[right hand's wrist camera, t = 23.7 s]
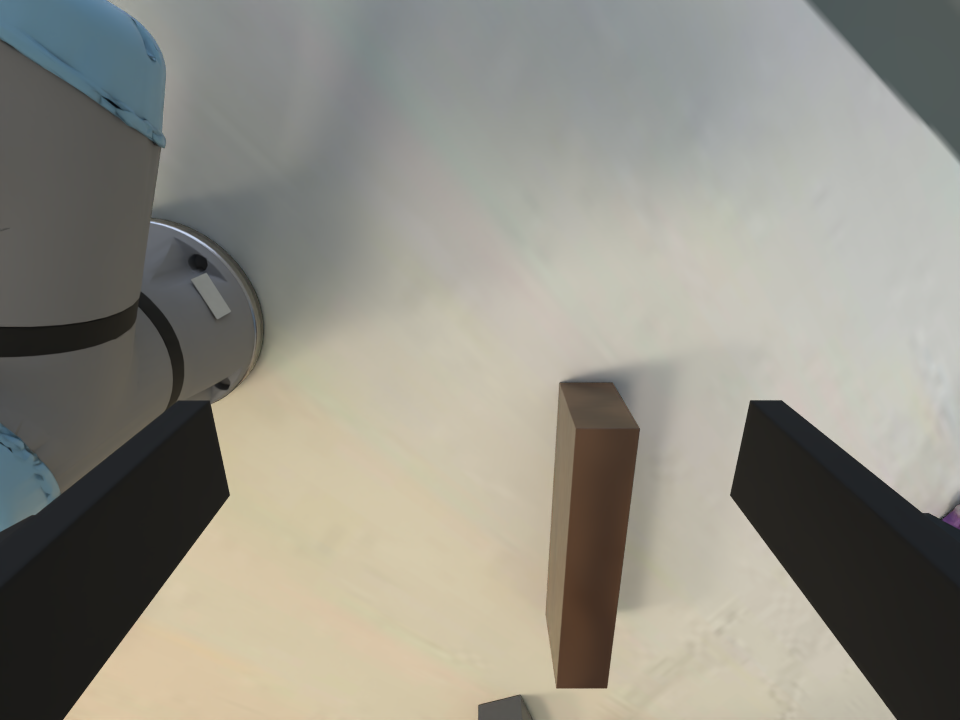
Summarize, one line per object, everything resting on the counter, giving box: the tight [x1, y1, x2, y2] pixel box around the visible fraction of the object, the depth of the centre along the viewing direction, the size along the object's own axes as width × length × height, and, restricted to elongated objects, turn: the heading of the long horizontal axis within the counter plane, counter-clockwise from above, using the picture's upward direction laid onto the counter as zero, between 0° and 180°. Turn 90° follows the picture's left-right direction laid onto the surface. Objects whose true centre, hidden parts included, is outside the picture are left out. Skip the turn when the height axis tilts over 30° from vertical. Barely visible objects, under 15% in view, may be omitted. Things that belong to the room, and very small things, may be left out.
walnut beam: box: [546, 383, 640, 688], centre depth 44 cm, size 4×26×8 cm, turn 0°
